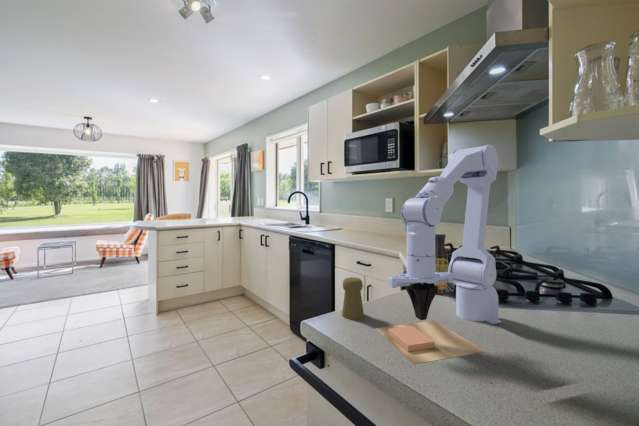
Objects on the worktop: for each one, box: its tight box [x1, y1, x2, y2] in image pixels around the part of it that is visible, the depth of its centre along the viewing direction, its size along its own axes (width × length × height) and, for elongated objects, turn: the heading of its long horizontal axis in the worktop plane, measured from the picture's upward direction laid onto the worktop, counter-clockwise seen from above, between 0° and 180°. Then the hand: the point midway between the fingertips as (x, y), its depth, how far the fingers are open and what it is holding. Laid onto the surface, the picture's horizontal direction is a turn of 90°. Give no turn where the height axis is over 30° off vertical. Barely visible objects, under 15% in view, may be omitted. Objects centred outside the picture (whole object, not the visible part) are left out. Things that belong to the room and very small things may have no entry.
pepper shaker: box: [341, 276, 365, 321], centre depth 77 cm, size 6×6×11 cm
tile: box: [388, 326, 435, 352], centre depth 62 cm, size 1×8×6 cm
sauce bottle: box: [434, 232, 449, 295], centre depth 100 cm, size 6×6×20 cm
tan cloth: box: [375, 320, 487, 365], centre depth 63 cm, size 16×16×1 cm
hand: (420, 318), depth 63 cm, fingers closed
